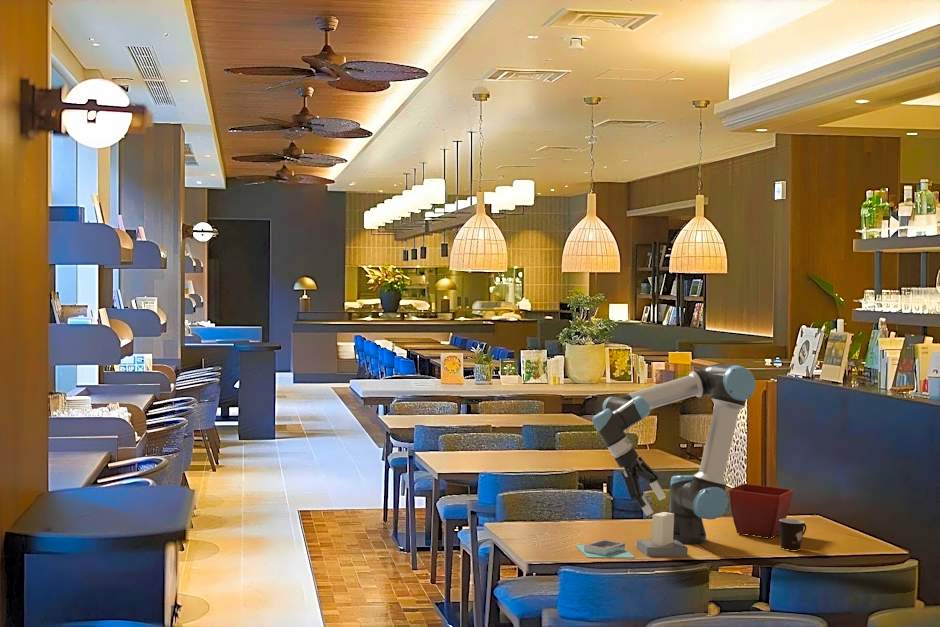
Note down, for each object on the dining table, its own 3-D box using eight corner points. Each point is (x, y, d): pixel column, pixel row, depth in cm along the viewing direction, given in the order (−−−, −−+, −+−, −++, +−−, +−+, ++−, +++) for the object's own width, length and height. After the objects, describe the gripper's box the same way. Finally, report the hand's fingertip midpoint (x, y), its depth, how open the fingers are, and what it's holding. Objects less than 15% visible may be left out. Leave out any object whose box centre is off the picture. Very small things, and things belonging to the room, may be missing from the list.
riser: (636, 548, 411) (637, 539, 411) (676, 548, 413) (676, 539, 413) (646, 556, 399) (647, 547, 399) (687, 556, 401) (687, 547, 401)
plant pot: (792, 534, 447) (794, 489, 447) (777, 542, 431) (779, 495, 430) (741, 527, 457) (743, 483, 456) (725, 535, 440) (728, 489, 440)
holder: (583, 551, 401) (584, 544, 401) (602, 546, 411) (603, 539, 411) (606, 555, 396) (606, 549, 396) (624, 550, 406) (625, 543, 406)
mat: (575, 545, 411) (575, 544, 411) (620, 546, 413) (620, 545, 413) (587, 557, 393) (587, 556, 393) (634, 558, 396) (634, 557, 396)
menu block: (651, 544, 404) (652, 514, 404) (662, 540, 411) (663, 511, 410) (661, 546, 402) (663, 516, 401) (672, 542, 408) (674, 513, 408)
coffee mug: (784, 552, 414) (785, 523, 414) (773, 546, 422) (774, 518, 422) (815, 552, 416) (817, 523, 416) (804, 546, 425) (805, 518, 424)
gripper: (619, 460, 392) (653, 516, 391) (644, 435, 413) (677, 488, 412) (601, 469, 396) (635, 524, 395) (627, 444, 417) (659, 496, 416)
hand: (656, 506), depth 404 cm, fingers open, 13 cm apart
